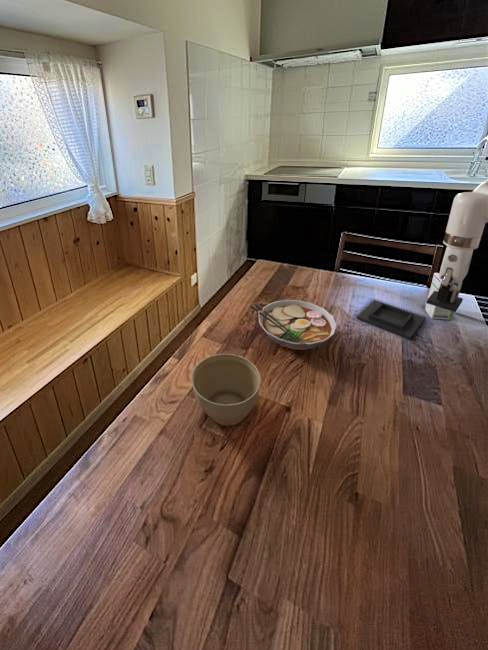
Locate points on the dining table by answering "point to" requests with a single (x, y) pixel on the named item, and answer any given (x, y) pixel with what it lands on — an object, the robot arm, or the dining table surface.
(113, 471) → the dining table surface
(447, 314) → the syrup box
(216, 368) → the planter bowl
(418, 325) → the base pad
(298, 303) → the ramen bowl
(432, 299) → the knobbed square plate
